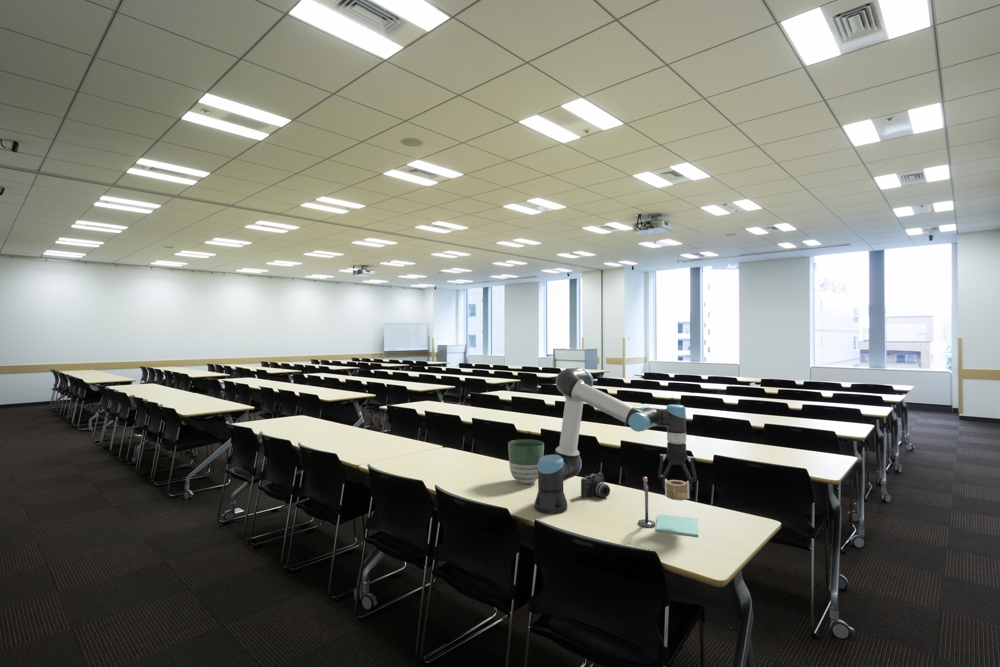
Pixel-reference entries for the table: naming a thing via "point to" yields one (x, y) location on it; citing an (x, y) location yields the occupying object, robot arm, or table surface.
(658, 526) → the board
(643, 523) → the wire post
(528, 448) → the planter
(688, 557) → the table surface
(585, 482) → the camera
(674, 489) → the ring
